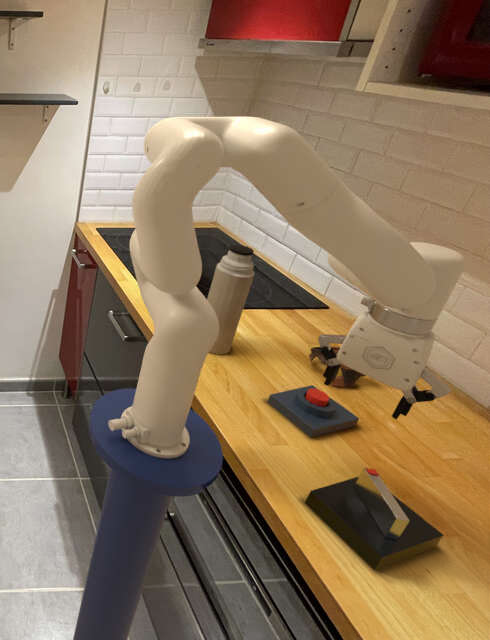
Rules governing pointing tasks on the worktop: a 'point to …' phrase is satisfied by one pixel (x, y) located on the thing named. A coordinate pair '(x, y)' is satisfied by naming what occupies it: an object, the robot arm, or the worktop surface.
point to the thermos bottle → (230, 293)
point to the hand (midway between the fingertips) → (361, 397)
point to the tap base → (370, 525)
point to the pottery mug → (348, 374)
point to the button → (317, 397)
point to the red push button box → (312, 412)
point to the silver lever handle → (381, 504)
